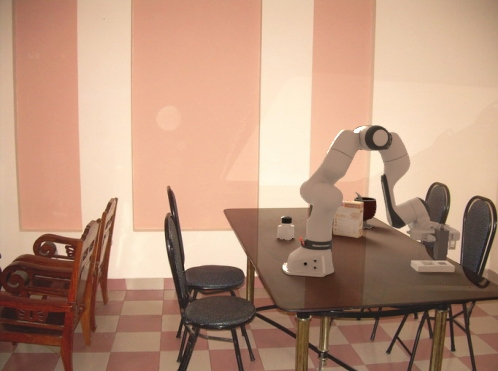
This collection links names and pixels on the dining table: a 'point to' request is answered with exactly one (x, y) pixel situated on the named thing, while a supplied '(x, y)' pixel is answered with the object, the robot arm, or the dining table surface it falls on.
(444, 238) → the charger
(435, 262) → the beige holder tray
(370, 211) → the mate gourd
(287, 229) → the medicine bottle
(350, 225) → the coffeecake box
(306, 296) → the dining table surface
